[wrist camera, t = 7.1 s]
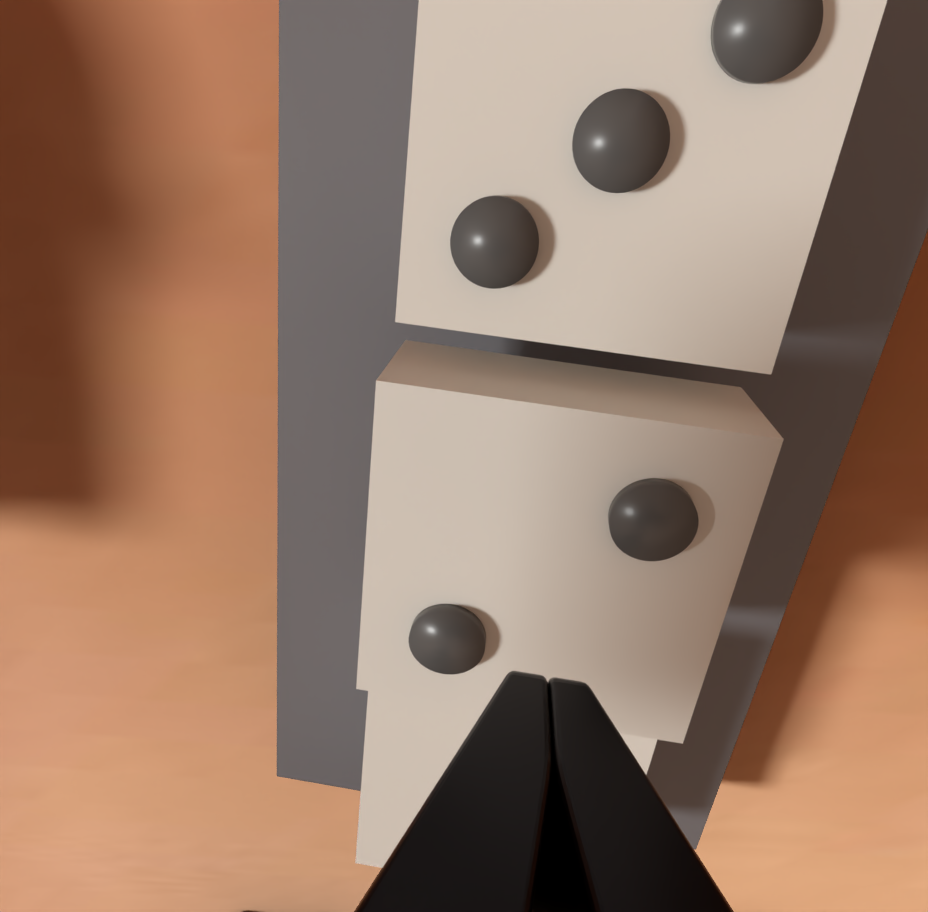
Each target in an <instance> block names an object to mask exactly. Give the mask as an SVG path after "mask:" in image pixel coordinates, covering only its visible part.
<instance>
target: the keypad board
mask: <svg viewBox="0 0 928 912" xmlns="http://www.w3.org/2000/svg"><path fill="white" fill-rule="evenodd" d="M418 3H419V0H279V217H278V556H277V776H279V777H285V778H290V779H296V780H302V781H308V782H313V783H319V784H325V785H330V786H336V787H342V788H348V789H353V790H359V791H361V781H362V767H363V754H364V740H365V727H366V713H367V699H368V691H365V690H359V689H356V684H357V668H358V653H359V637H360V622H361V606H362V591H363V575H364V559H365V544H366V528H367V513H368V497H369V482H370V466H371V451H372V435H373V419H374V404H375V388H376V380H377V378H378V377H379V376H380V374H381V373H382V372H383V370H384V369H385V367H386V366H387V365H388V363H389V362H390V361H391V359H392V358H393V356H394V355H395V354H396V352H397V351H398V350H399V348H400V347H401V346H402V344H403V343H404V341H405V340H409V341H416V342H424V343H431V344H438V345H445V346H452V347H459V348H466V349H473V350H480V351H487V352H495V353H502V354H509V355H516V356H523V357H530V358H537V359H544V360H551V361H558V362H566V363H573V364H580V365H587V366H594V367H601V368H608V369H615V370H622V371H629V372H637V373H644V374H651V375H658V376H665V377H672V378H679V379H686V380H693V381H700V382H707V383H715V384H722V385H729V386H736V387H741V388H742V389H743V390H744V391H745V392H746V394H747V395H748V396H749V397H750V399H751V400H752V401H753V402H754V403H755V405H756V406H757V407H758V408H759V410H760V411H761V412H762V413H763V414H764V416H765V417H766V418H767V419H768V421H769V422H770V423H771V424H772V425H773V427H774V428H775V429H776V430H777V432H778V433H779V434H780V435H781V436H782V438H783V439H784V440H783V443H782V446H781V449H780V452H779V455H778V458H777V461H776V464H775V467H774V470H773V473H772V476H771V479H770V482H769V485H768V488H767V491H766V494H765V497H764V500H763V503H762V506H761V509H760V512H759V515H758V518H757V521H756V524H755V527H754V530H753V533H752V536H751V539H750V542H749V545H748V549H747V552H746V555H745V558H744V561H743V564H742V567H741V570H740V573H739V576H738V579H737V582H736V585H735V588H734V591H733V594H732V597H731V600H730V603H729V606H728V609H727V612H726V615H725V618H724V621H723V624H722V627H721V630H720V633H719V636H718V639H717V642H716V645H715V648H714V651H713V654H712V657H711V660H710V663H709V666H708V669H707V672H706V675H705V678H704V681H703V684H702V687H701V690H700V693H699V696H698V699H697V702H696V705H695V708H694V711H693V714H692V717H691V720H690V723H689V726H688V729H687V732H686V735H685V738H684V741H683V744H682V743H676V742H670V741H664V740H658V739H657V743H656V746H655V749H654V752H653V755H652V759H651V762H650V765H649V768H648V772H647V775H646V776H647V777H648V779H649V780H650V782H651V783H652V785H653V786H654V788H655V790H656V791H657V793H658V794H659V796H660V797H661V799H662V801H663V802H664V804H665V805H666V807H667V808H668V810H669V811H670V813H671V815H672V816H673V818H674V819H675V821H676V822H677V824H678V826H679V827H680V829H681V830H682V832H683V833H684V835H685V836H686V838H687V840H688V841H689V843H690V844H691V846H692V847H693V849H696V848H697V845H698V842H699V840H700V837H701V834H702V831H703V829H704V826H705V823H706V821H707V818H708V815H709V813H710V810H711V807H712V805H713V802H714V799H715V797H716V794H717V791H718V789H719V786H720V783H721V781H722V778H723V775H724V773H725V770H726V767H727V765H728V762H729V759H730V757H731V754H732V751H733V749H734V746H735V743H736V741H737V738H738V735H739V733H740V730H741V727H742V725H743V722H744V719H745V717H746V714H747V711H748V709H749V706H750V703H751V701H752V698H753V695H754V693H755V690H756V687H757V685H758V682H759V679H760V677H761V674H762V671H763V669H764V666H765V663H766V661H767V658H768V655H769V653H770V650H771V647H772V645H773V642H774V639H775V636H776V634H777V631H778V628H779V626H780V623H781V620H782V618H783V615H784V612H785V610H786V607H787V604H788V602H789V599H790V596H791V594H792V591H793V588H794V586H795V583H796V580H797V578H798V575H799V572H800V570H801V567H802V564H803V562H804V559H805V556H806V554H807V551H808V548H809V546H810V543H811V540H812V538H813V535H814V532H815V530H816V527H817V524H818V522H819V519H820V516H821V514H822V511H823V508H824V506H825V503H826V500H827V498H828V495H829V492H830V490H831V487H832V484H833V482H834V479H835V476H836V474H837V471H838V468H839V466H840V463H841V460H842V458H843V455H844V452H845V450H846V447H847V444H848V441H849V439H850V436H851V433H852V431H853V428H854V425H855V423H856V420H857V417H858V415H859V412H860V409H861V407H862V404H863V401H864V399H865V396H866V393H867V391H868V388H869V385H870V383H871V380H872V377H873V375H874V372H875V369H876V367H877V364H878V361H879V359H880V356H881V353H882V351H883V348H884V345H885V343H886V340H887V337H888V335H889V332H890V329H891V327H892V324H893V321H894V319H895V316H896V313H897V311H898V308H899V305H900V303H901V300H902V297H903V295H904V292H905V289H906V287H907V284H908V281H909V279H910V276H911V273H912V271H913V268H914V265H915V263H916V260H917V257H918V255H919V252H920V249H921V246H922V244H923V241H924V238H925V236H926V233H927V230H928V0H887V3H886V6H885V10H884V13H883V16H882V19H881V22H880V26H879V29H878V32H877V35H876V39H875V42H874V45H873V48H872V51H871V55H870V58H869V61H868V64H867V68H866V71H865V74H864V77H863V80H862V84H861V87H860V90H859V93H858V97H857V100H856V103H855V106H854V109H853V113H852V116H851V119H850V122H849V126H848V129H847V132H846V135H845V138H844V142H843V145H842V148H841V151H840V155H839V158H838V161H837V164H836V167H835V171H834V174H833V177H832V180H831V184H830V187H829V190H828V193H827V196H826V200H825V203H824V206H823V209H822V212H821V216H820V219H819V222H818V225H817V229H816V232H815V235H814V238H813V241H812V245H811V248H810V251H809V254H808V258H807V261H806V264H805V267H804V270H803V274H802V277H801V280H800V283H799V287H798V290H797V293H796V296H795V299H794V303H793V306H792V309H791V312H790V316H789V319H788V322H787V325H786V328H785V332H784V335H783V338H782V341H781V345H780V348H779V351H778V354H777V357H776V361H775V364H774V367H773V370H772V374H771V375H770V374H763V373H756V372H749V371H742V370H734V369H727V368H720V367H713V366H706V365H699V364H691V363H684V362H677V361H670V360H663V359H656V358H648V357H641V356H634V355H627V354H620V353H613V352H606V351H598V350H591V349H584V348H577V347H570V346H563V345H555V344H548V343H541V342H534V341H527V340H520V339H512V338H505V337H498V336H491V335H484V334H477V333H469V332H462V331H455V330H448V329H441V328H434V327H427V326H419V325H412V324H405V323H398V322H395V316H396V303H397V289H398V275H399V262H400V248H401V235H402V221H403V207H404V194H405V180H406V167H407V153H408V139H409V126H410V112H411V99H412V85H413V71H414V58H415V44H416V31H417V17H418Z"/></svg>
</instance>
